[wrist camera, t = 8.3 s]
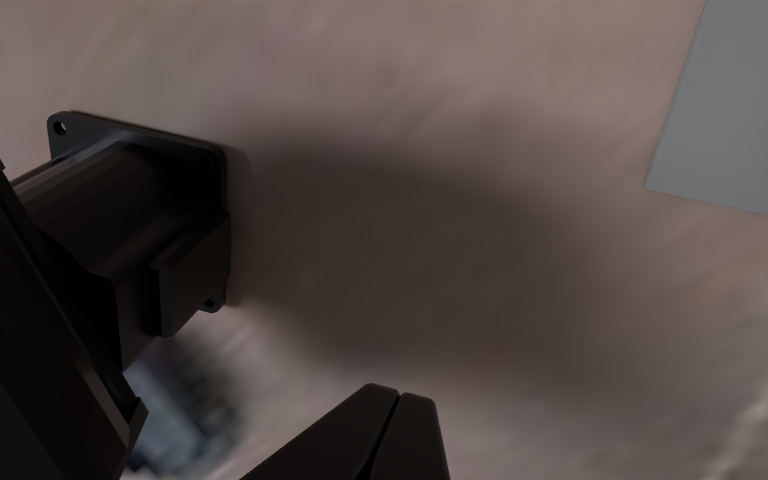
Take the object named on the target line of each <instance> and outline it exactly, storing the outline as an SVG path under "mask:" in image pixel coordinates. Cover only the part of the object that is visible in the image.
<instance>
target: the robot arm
mask: <svg viewBox="0 0 768 480" xmlns="http://www.w3.org/2000/svg"><path fill="white" fill-rule="evenodd" d="M61 123H63V125H64V126H65V128H66V131H65V130H64V129H63V128H62V125H61ZM47 130H48V137H49V145H50V152H51V161H49V162H47V163H45V164H43V165H41V166H39V167H37V168H35V169H33V170H31V171H29V172H27V173H25V174H23V175H21V176H20V177H18V178H16V179H14V180H12V181H10V182H9V181H8V179H7V177H6V176H5V174H4V172H3V171H2V170H3V169H5V166H4V164H3V163H2V161H1V159H0V480H119V479H120V477H121V475H122V472H123V470H124V468H125V466H126V463H127V461H128V459H129V457H130V454H131V452H132V450H133V447H134V445H135V443H136V441H137V438H138V436H139V434H140V432H141V429H142V427H143V425H144V423H145V420H146V418H147V416H148V414H149V411H148V410H147V408H146V406H145V404H144V403H143V401H142V399H141V398H140V397H136V396H135V394H134V393H133V391H132V389H131V388H130V386H129V384H128V382H127V381H126V379H125V377H124V376H123V372H124V371H125V370H126V369H127V368H128V367H129V366H130V365H131V364H132V363H133V362H134V361H135V360H136V359H137V358H138V357H139V356H140V355H141V354H142V353H143V352H144V351H145V350H146V349H147V348H148V347H149V346H150V345H151V344H152V342H153V341H154V340H155V339H159V340H163V341H166V340H168V339H170V338H171V337H173V336H174V335H175V334H176V333H177V332H178V331H179V330H180V329H181V328H182V327H183V325H184V324H185V323H186V322H187V321H188V320H189V319H190V318H191V317H192V316H193V315H194V314H195V313H196V312H197V310H201V311H205V312H208V313H215V312H217V311H218V310H219V309H220V308H221V307H222V306H223V305H224V304H225V301H226V279H227V278H228V277H229V276H230V269H231V216H230V214H229V212H228V210H227V209H226V182H227V162H226V157H225V155H224V153H223V151H222V150H220V149H219V148H218V147H216V146H214V145H211V144H206V143H202V142H198V141H193V140H189V139H185V138H180V137H176V136H172V135H167V134H163V133H159V132H154V131H150V130H145V129H141V128H137V127H132V126H128V125H124V124H119V123H115V122H111V121H106V120H102V119H98V118H93V117H89V116H85V115H80V114H76V113H72V112H67V111H60V112H58V113H56V114H53V115H51V116H50V117H49V118H48V120H47ZM206 156H208V157H210V158H211V159H212V160H213V163H214V166H211V165H209V164H208V162H207V161H206ZM210 297H212V298H213V300H214V301H212V300H210V299H209V298H210ZM239 480H450V475H449V470H448V465H447V460H446V455H445V450H444V445H443V440H442V435H441V430H440V425H439V420H438V415H437V410H436V405H435V403H434V401H433V400H432V399H430V398H426V397H422V396H419V395H415V394H411V393H407V392H405V393H403V394H402V395H401V396H400V394H399V392H398V391H397V390H396V389H392V388H389V387H385V386H381V385H377V384H374V383H369V384H366V385H364V386H363V387H362V388H360V389H359V390H358V391H356V392H355V393H354V394H352V395H351V396H350V397H348V398H347V399H346V400H344V401H343V402H342V403H340V404H339V405H338V406H336V407H335V408H334V409H332V410H331V411H330V412H328V413H327V414H326V415H324V416H323V417H322V418H320V419H319V420H318V421H316V422H315V423H314V424H312V425H311V426H310V427H308V428H307V429H306V430H304V431H303V432H302V433H300V434H299V435H298V436H296V437H295V438H294V439H292V440H291V441H290V442H288V443H287V444H286V445H284V446H283V447H282V448H280V449H279V450H278V451H276V452H275V453H274V454H272V455H271V456H270V457H268V458H267V459H266V460H264V461H263V462H262V463H261V464H259V465H258V466H257V467H255V468H254V469H253V470H251V471H250V472H249V473H247V474H246V475H245V476H243V477H242V478H241V479H239Z"/></svg>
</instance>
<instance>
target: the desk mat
mask: <svg viewBox="0 0 768 480" xmlns="http://www.w3.org/2000/svg"><path fill="white" fill-rule="evenodd" d="M644 185H645V189H648V190H652V191H657V192H662V193H666V194H671V195H676V196H680V197H685V198H690V199H694V200H699V201H703V202H708V203H713V204H717V205H722V206H727V207H731V208H736V209H741V210H745V211H750V212H754V213H759V214H764V215H768V0H706V3H705V6H704V9H703V12H702V15H701V18H700V21H699V24H698V27H697V29H696V32H695V35H694V38H693V41H692V44H691V47H690V50H689V53H688V56H687V59H686V62H685V65H684V68H683V71H682V74H681V77H680V80H679V83H678V85H677V88H676V91H675V94H674V97H673V100H672V103H671V106H670V109H669V112H668V115H667V118H666V121H665V124H664V127H663V130H662V133H661V136H660V139H659V141H658V144H657V147H656V150H655V153H654V156H653V159H652V162H651V165H650V168H649V171H648V174H647V177H646V180H645V183H644Z"/></svg>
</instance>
